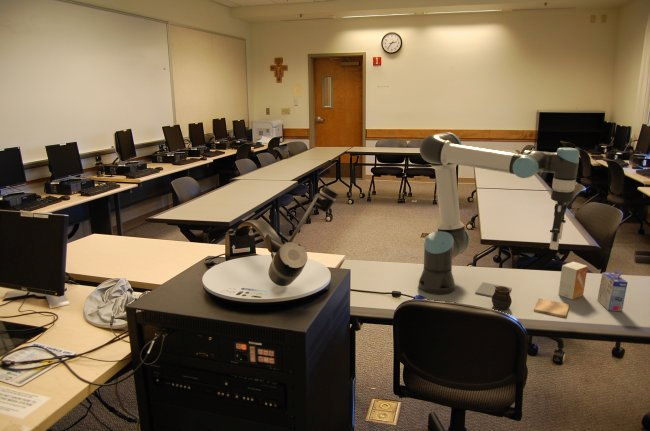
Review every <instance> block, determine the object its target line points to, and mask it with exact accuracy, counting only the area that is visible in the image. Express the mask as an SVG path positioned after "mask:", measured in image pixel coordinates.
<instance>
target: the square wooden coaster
mask: <svg viewBox="0 0 650 431" xmlns="http://www.w3.org/2000/svg"><path fill="white" fill-rule="evenodd" d="M569 308H570V304H568V303H564V302H559V301H554V300H549V299H544V298H538V300H537V302H536V304H535V306H534V308H533V312H537V313H540V314H541V313H542V314H546V315H551V316H556V317H561V318H564V319H565V318H567V314H568V312H569Z"/></svg>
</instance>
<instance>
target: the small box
mask: <svg viewBox="0 0 650 431" xmlns="http://www.w3.org/2000/svg"><path fill="white" fill-rule="evenodd" d="M587 273H588V265H586V264H583V263H580V262H577V261H571V262H567V263H565V264H562V266H561V272H560V278H559V279H560V282H559V288H558V295H559V296H561V297H563V298H566V299H569V300H572V301H573V300H576V299H577V298H580V297H583V295H584V293H585V292H584V291H585V286H586V281H587V280H586V279H587Z"/></svg>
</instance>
